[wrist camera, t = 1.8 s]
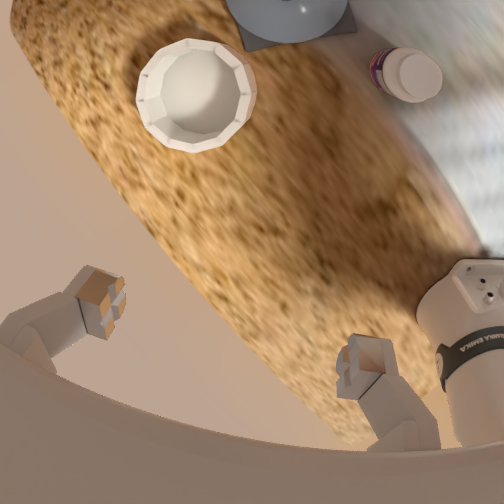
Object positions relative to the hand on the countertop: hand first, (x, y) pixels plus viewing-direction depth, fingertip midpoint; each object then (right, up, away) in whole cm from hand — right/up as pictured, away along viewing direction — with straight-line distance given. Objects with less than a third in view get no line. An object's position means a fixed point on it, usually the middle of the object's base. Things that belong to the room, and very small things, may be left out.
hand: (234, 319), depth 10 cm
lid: (+4, +29, +13) cm, 32 cm away
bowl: (-5, +20, +21) cm, 30 cm away
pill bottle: (+16, +22, +17) cm, 32 cm away
